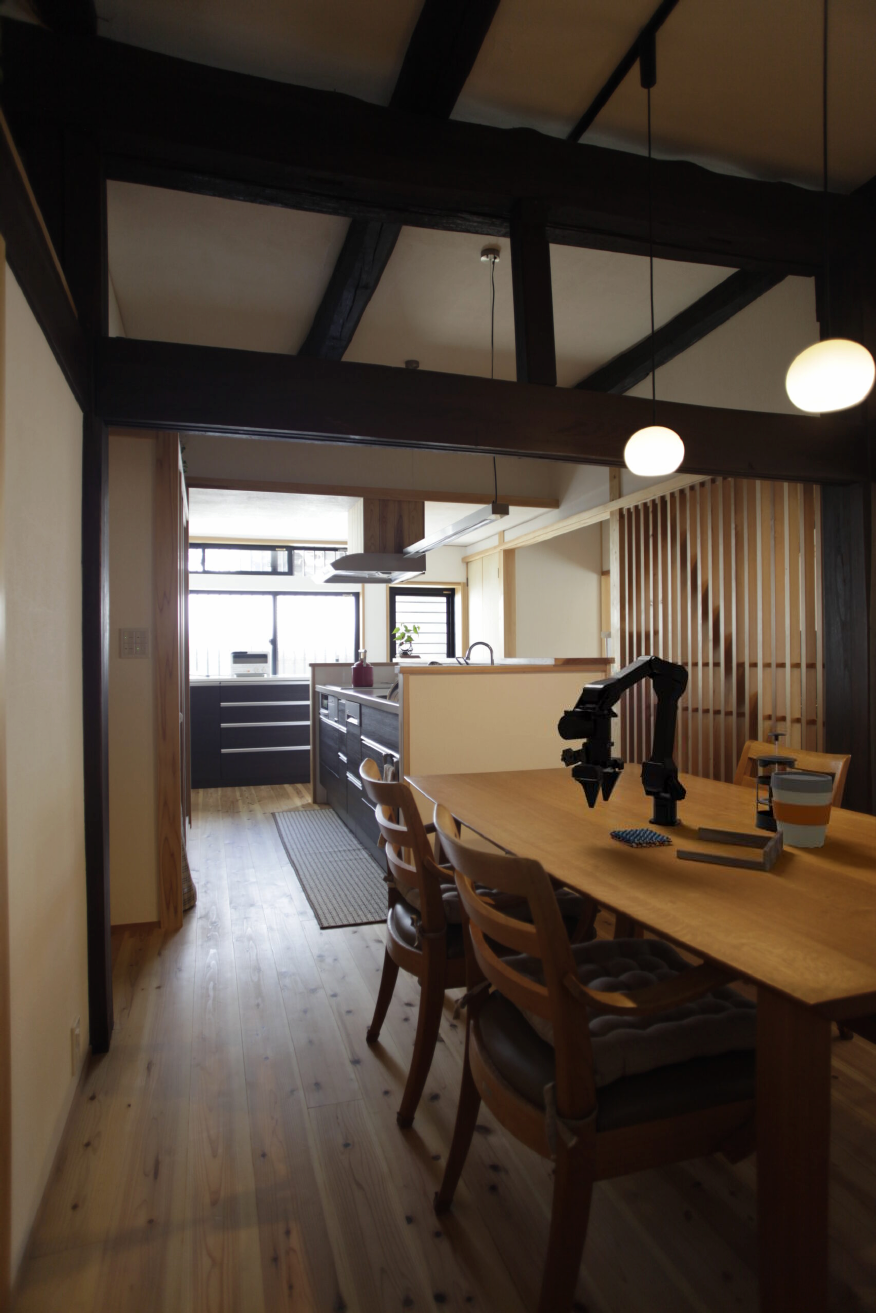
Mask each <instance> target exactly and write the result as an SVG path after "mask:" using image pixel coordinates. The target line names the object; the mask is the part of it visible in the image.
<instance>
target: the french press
mask: <svg viewBox="0 0 876 1313" xmlns="http://www.w3.org/2000/svg"><path fill="white" fill-rule="evenodd" d="M766 735H768V736H774V738H773V740H774V741H775V755H769V754H768V755H758V756H756V759H757V760H758V767H760V768H762V769H764V768H768V767H769V766H771V765H773V766H775V772H778V766H787V767H788V768H789V769H792V770H794V769H796V762H797V761H798V759H797V758H795V757H790V756H784V755H778V742H780V740H779V739H780V737H784V736H787V734H786V733H783V732H768V733H767V734H766ZM771 776H772V774H769V775H767V774H764V775H757V776H756V780H755V781H756V784H755V785H756V787H755V788H756V790H755V791H756V794H755V795H756V801H755V802H756V806H755V808H756V809H755V810H756V811H755V812H756V814H755V816H756V818H755V819H756V822H754V823H755V824H754V825H755V827H756V828H757V827H758V829H760V828H761V829H760V830H763V829H766V830H765V831H768V830H772V831H771V832H775V831H778V829H777V821H776V819H775V818H774V813H773V806H772V798H773V791H772V787H771V786H770V785H771ZM759 785H763V786H768V797H761V798H759ZM759 804H760V805H764V806H768V809H761V810H759Z"/></svg>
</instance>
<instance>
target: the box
mask: <svg viewBox="0 0 876 1313" xmlns="http://www.w3.org/2000/svg"><path fill="white" fill-rule="evenodd" d="M697 840H704V841H710V842H711V841H712V842H717V843H718V842H719V843H725V844H733V845H739V844H740V845H742V846H746V845H747V847H756V848H761V847H763V849H762V860H756V859H751V858H749V859H748V858H743V857H737V856H728V855H722V854H715V853H708V852H703V851H702V852H701V851H694V850H688V849H681V848H677V849H676V858H680V859H685V860H691V861H692V860H693V861H699V862H704V863H713V864H719V865H726V866H732V867H738V868H743V869H744V868H746V869H752V870H759V871H765V872H769V871H770V870H771V869H772V867H773V865H774V864H775V862H776V860H777V859H778V858H779V856H780V855H781V853H782V852H783V850H784V844H783V831H781V830H778V831H777V832H776V833H774V835H773V836H771V835H764V834H758V833H757V834H756V833H748V832H741V831H733V830H726V829H725V830H724V829H716V828H710V827H702V826H699V827H698V828H697ZM781 851H782V852H781ZM779 854H780V855H779Z"/></svg>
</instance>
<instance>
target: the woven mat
mask: <svg viewBox="0 0 876 1313" xmlns="http://www.w3.org/2000/svg"><path fill="white" fill-rule="evenodd" d="M609 836H610V837H611V838H612V839H614V840H616V841H618V840H619V841H618V842H621V843H623V844H625V845H627V846H629V847H632V848H634V847H635V848H641V847H644V848H645V847H650V846H651V847H656V846H657V847H658V846H663V845H664V846H668V845H672V843H673V840H672V838H670V837H669V836H666V835H665V834H661V833H658V832H657V831H653V829H649V828H648V827H647V828H639V829H638V828H635V829H632V828H631V829H630V830H629V829H623V830H613V831H610V833H609Z"/></svg>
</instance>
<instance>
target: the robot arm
mask: <svg viewBox="0 0 876 1313" xmlns="http://www.w3.org/2000/svg"><path fill="white" fill-rule="evenodd" d="M645 678H647V679H650V680H652V681H651V682H652V683H651V684H652V689H653V691H654V693H655V696H656V699H657V702H656V711H655V720H654V730H653V740H652V749H651V756H650V757H649V758H648V760H647V761H645V760H644V761H642V763H641V773H640V775H639V776H640V777H639V778H641V785H642V786H643V790H644V794H645V796H647V797H652V801H653V802H652V806H653V807H652V808H653V809H652V811H653V812H652V815H653V817H652V818H650V819H648V823H651V824H658V825H667V826H673V827H674V826H676V825H678V824H679V823H681V821H682V818H678V802H680V801H681V802H682V800H685V799H686V795H687V790H686V788H685V787H684V786H683V784H682V783H681V781H680V780H679V770H678V767H677V764H676V763H675V760H674V758H673V756H674V747H675V736H676V727H677V718H678V716H677V715H678V707H679V701H680V699H681V698H682V696H683V695H684V693H685V692H686V690H687V687H688V686H687V685H688V682H689V671H688V670H687V668H686V667H685V666H684V665H683V664H677V663H674V662H671V661H668V660H665V659H663V658H661V657H660V656H658V655H641V656H639V657H637V659H636V660H635V661H633V662H631V663H630V664H628V665H627V666H624V668H622V669H620V670H619V671H617V672H616V673H613V674H612V675H611V676H609V677H607V678H603V679H599V680H595V681H592V682H589V683H587V684H585V685H584V686H583V687H582V692H581V693H580V696H579V697H578V699H577V701H576V703H575V705H574V707H573V708H572V709H564V710H563V715H562V716H561V717H560V718H559V720H558V723H557V732H558V735H559V737H560V738H561V739H563V740H565V741H574V740H576V741H577V740H585V741H583V742H582V743H581V748H579V749H575V750H574V749H573V748H571V747H568V748H565V749H562V751H561V755H560V756H561V758H560V761H561V762H563V763H564V765H565V767H566V768H568V767H571V766H573V767H572V768H571V778H573V779H574V781H575V782H578V783H579V784H580V785H581V787H582V789H583V792H584V795H585V800H586V803H587V805H588V808H589V809H594V808H595V806H596V803H597V800H598V797H599V793H600V791H601V796H602V801H603V802H608V801H609V799H610V797H611V796H612V793H613V790H614V789H615V786H616V784H617V783H618V780H619V778H620V776H621V774H622V773H623V770H625V761H624V760H623V758H621V757H619V756H618V757H617V756H612V747H615V741H612V718H613V719H615V718H618V717H619V715H618V713H617V712H615V711H614V710H613V707H614V706H615V705H616V704H617V703H618V702H619V701H620V700H621V699H622V698H621V697H622V694H623V693H625V692H626V691H628V689H630V688H631V687H633V686H635V685H636V684H638V683H639V682H641V681H642V680H643V679H645Z"/></svg>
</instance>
